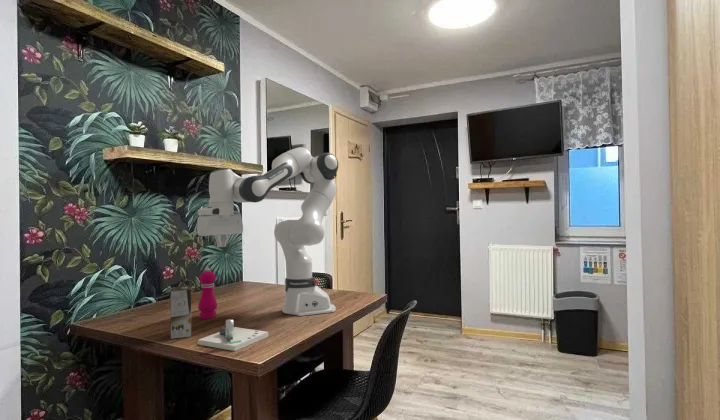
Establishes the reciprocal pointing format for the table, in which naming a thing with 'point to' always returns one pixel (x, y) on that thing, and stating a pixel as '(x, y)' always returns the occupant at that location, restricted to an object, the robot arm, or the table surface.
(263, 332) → the dial plate
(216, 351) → the table surface
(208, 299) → the pepper mill
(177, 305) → the coffee box
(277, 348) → the table surface
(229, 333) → the crank
